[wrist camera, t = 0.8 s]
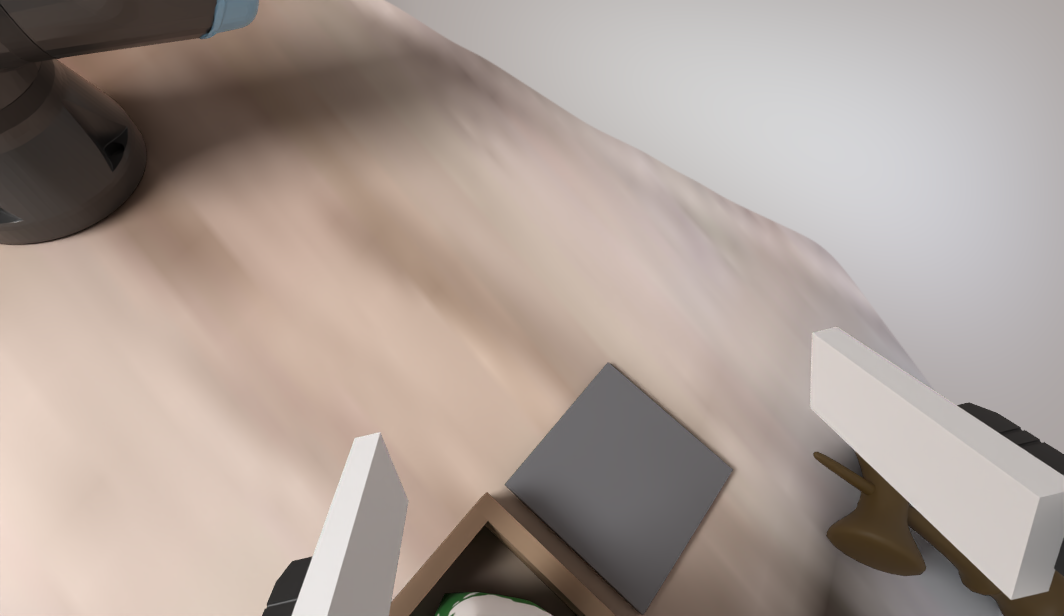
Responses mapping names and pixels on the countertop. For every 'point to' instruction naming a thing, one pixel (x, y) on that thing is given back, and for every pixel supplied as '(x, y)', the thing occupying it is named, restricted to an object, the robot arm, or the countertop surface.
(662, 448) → the rubber mat
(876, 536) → the kendama
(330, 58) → the countertop surface
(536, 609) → the soya milk
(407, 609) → the collar
